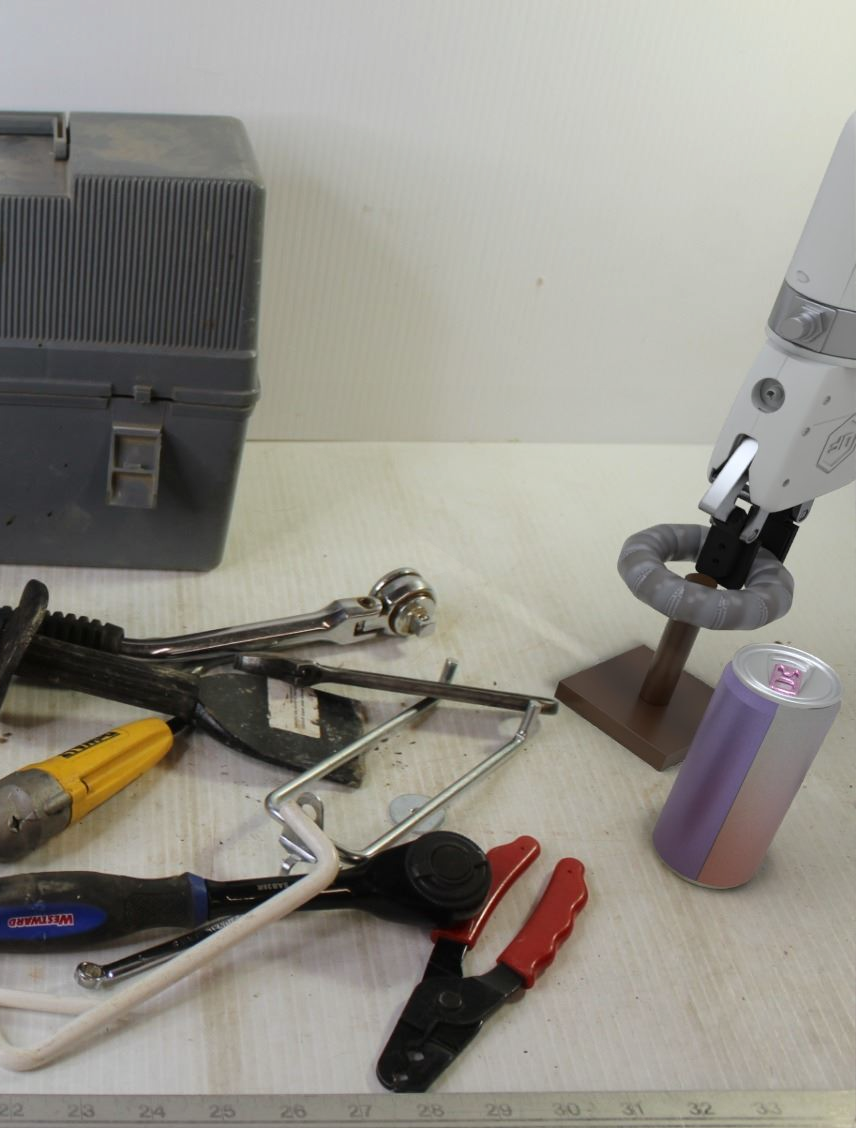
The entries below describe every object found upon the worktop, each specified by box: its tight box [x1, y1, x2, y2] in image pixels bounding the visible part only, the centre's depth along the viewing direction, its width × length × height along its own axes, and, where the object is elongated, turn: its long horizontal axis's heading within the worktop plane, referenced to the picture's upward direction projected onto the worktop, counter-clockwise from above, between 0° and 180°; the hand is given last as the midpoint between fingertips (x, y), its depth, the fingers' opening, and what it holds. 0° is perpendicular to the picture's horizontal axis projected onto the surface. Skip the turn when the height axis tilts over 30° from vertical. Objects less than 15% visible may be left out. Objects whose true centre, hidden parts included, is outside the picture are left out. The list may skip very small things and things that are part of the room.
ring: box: [616, 523, 795, 632], centre depth 88 cm, size 10×10×3 cm
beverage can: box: [651, 642, 845, 890], centre depth 79 cm, size 6×6×15 cm
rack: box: [553, 572, 719, 772], centre depth 91 cm, size 9×9×12 cm
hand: (736, 570), depth 90 cm, fingers closed on ring, 3 cm apart
